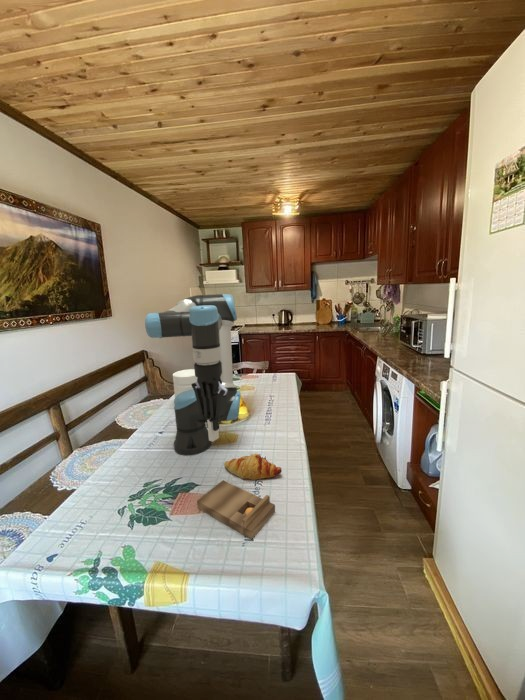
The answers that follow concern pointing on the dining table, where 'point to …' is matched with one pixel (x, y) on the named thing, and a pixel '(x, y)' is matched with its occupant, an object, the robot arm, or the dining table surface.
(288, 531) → the dining table surface
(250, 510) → the ball
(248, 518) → the wooden tray with slot
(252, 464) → the croissant
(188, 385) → the canister
